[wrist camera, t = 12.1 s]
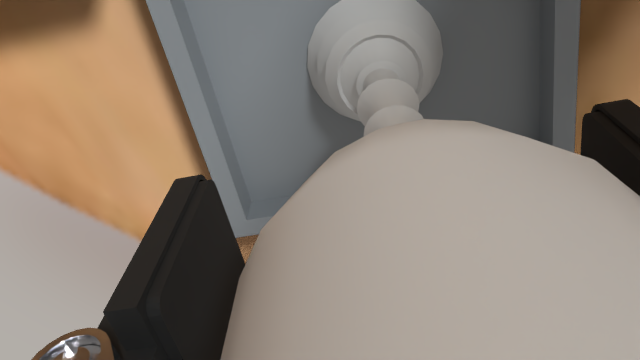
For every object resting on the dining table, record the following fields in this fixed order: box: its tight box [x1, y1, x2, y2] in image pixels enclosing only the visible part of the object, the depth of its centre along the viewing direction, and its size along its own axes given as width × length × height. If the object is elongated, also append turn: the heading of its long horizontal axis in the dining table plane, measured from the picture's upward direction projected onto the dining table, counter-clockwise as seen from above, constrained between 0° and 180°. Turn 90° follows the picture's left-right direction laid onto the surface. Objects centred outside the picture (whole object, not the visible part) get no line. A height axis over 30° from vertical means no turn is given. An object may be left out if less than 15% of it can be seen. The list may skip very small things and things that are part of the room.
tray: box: [146, 0, 581, 238], centre depth 19 cm, size 14×12×2 cm
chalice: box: [220, 0, 640, 360], centre depth 11 cm, size 7×7×18 cm
